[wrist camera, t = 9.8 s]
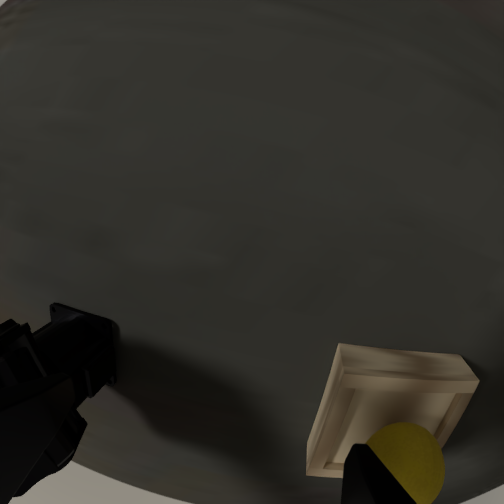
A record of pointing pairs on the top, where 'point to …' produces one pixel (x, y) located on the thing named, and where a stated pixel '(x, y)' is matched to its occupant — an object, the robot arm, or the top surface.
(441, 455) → the lemon
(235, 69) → the top surface
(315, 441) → the wooden serving tray
